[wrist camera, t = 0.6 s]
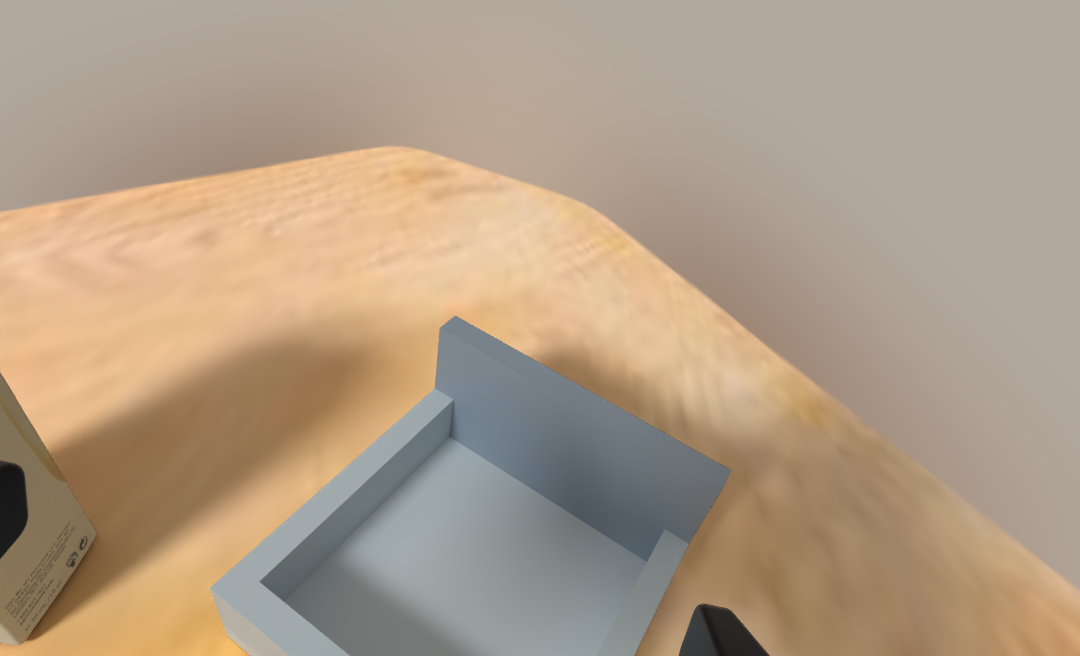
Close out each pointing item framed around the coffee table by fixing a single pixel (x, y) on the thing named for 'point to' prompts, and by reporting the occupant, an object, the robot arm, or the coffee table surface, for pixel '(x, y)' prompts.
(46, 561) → the skincare box
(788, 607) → the coffee table surface
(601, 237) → the coffee table surface
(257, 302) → the coffee table surface
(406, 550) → the seat tray
